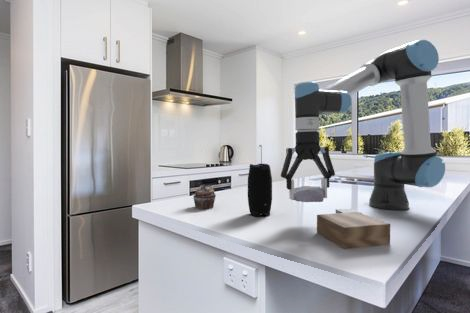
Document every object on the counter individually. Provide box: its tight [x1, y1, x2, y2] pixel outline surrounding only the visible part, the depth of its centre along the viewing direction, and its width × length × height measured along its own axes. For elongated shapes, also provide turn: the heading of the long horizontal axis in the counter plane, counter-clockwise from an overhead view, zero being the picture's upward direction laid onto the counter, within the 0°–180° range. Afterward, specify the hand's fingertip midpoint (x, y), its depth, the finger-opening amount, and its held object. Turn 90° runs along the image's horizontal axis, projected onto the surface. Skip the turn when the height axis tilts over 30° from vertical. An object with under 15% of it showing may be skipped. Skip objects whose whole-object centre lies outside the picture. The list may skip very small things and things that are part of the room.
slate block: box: [335, 208, 363, 214], centre depth 97 cm, size 6×6×5 cm
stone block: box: [293, 185, 325, 203], centre depth 97 cm, size 12×5×10 cm
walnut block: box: [316, 212, 391, 250], centre depth 84 cm, size 14×14×6 cm
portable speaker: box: [247, 163, 273, 218], centre depth 112 cm, size 9×9×20 cm
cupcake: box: [192, 184, 217, 211], centre depth 125 cm, size 10×10×10 cm
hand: (308, 198), depth 96 cm, fingers closed on stone block, 10 cm apart
